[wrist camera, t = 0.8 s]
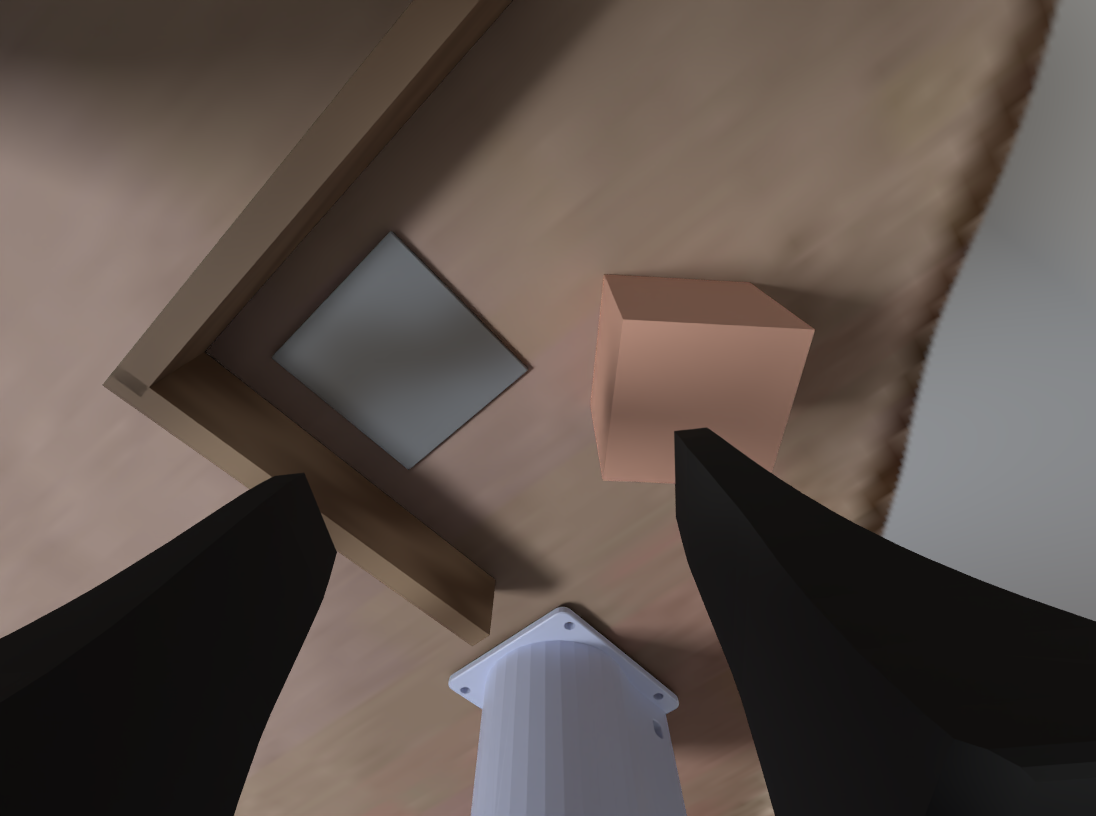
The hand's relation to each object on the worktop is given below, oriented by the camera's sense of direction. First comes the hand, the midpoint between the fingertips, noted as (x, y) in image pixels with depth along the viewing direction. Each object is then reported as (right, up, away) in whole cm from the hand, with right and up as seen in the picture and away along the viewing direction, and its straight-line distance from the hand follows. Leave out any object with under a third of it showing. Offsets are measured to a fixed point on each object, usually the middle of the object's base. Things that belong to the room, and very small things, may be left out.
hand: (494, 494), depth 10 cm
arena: (0, +4, +9) cm, 10 cm away
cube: (+5, +4, +9) cm, 11 cm away
